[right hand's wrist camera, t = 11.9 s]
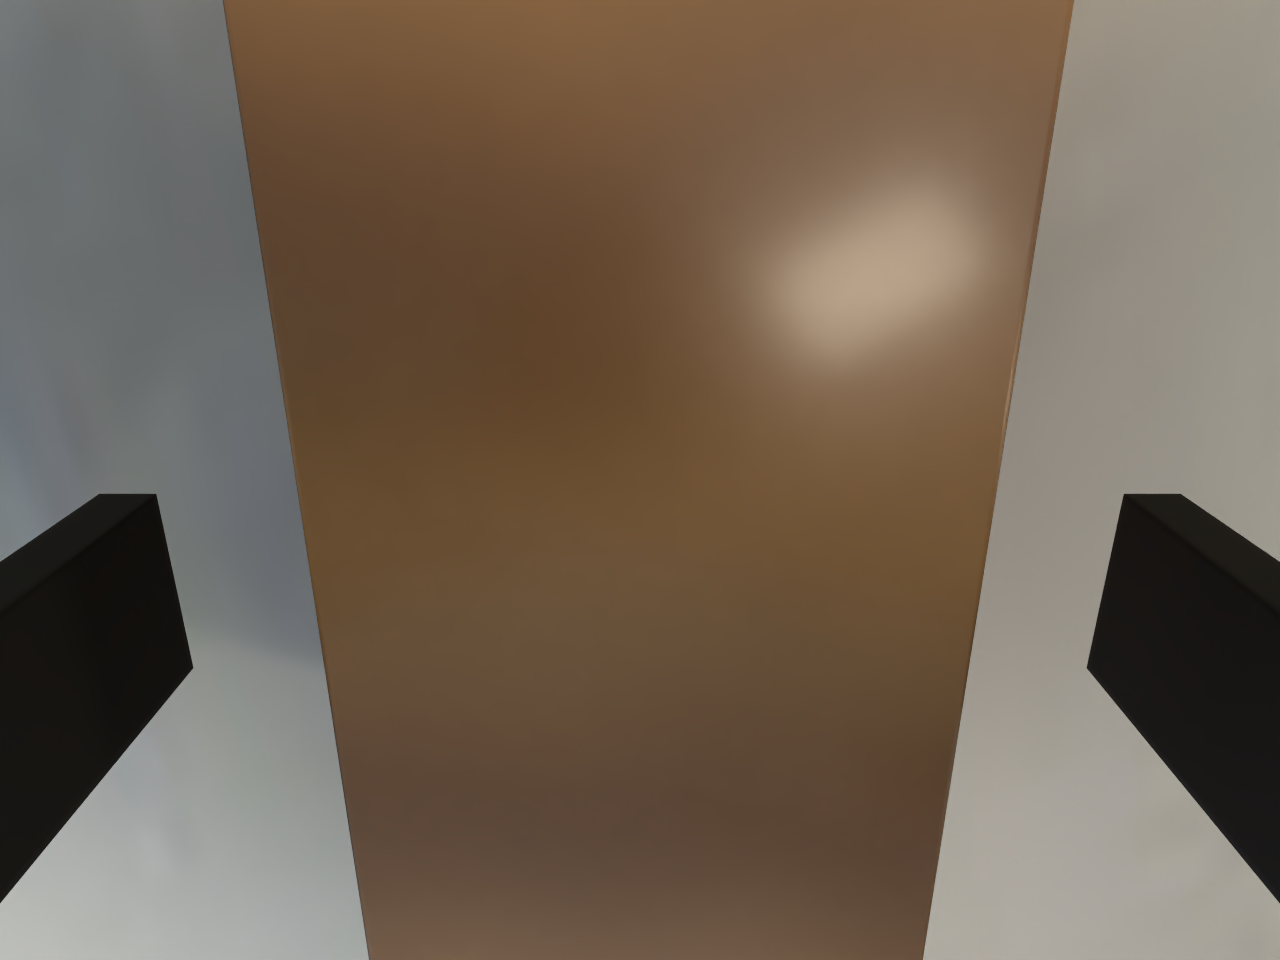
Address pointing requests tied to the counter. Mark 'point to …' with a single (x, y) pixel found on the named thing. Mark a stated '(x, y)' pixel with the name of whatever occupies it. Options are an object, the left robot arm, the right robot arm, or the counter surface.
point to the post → (647, 446)
